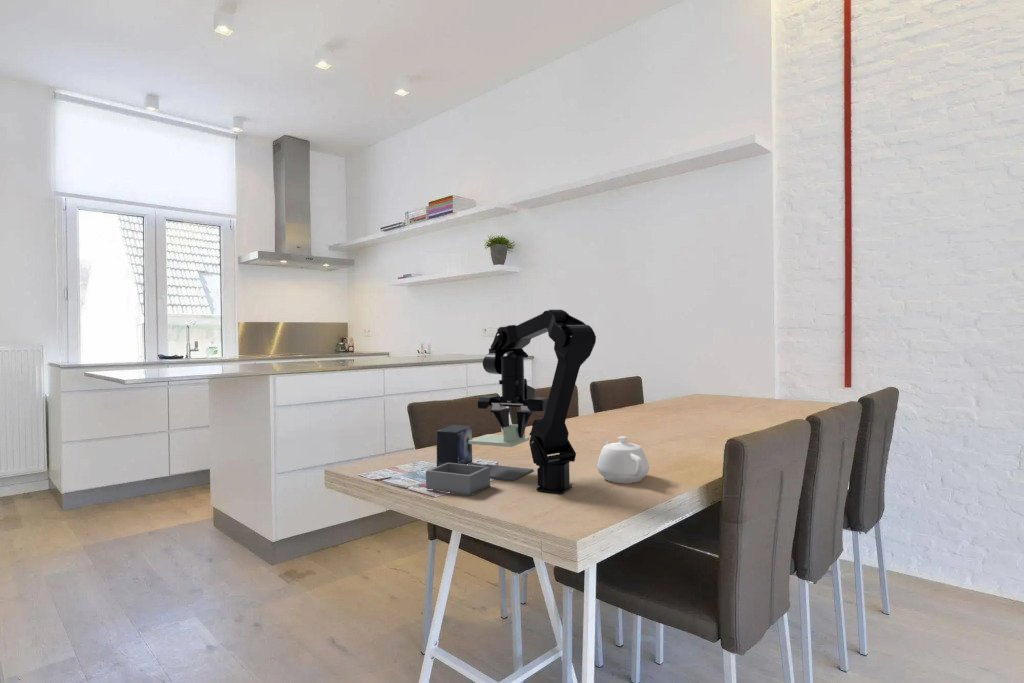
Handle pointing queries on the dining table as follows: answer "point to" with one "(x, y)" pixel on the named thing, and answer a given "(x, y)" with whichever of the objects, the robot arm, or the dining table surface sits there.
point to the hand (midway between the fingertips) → (514, 437)
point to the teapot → (622, 462)
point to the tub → (458, 478)
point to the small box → (454, 445)
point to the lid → (502, 438)
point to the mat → (507, 472)
